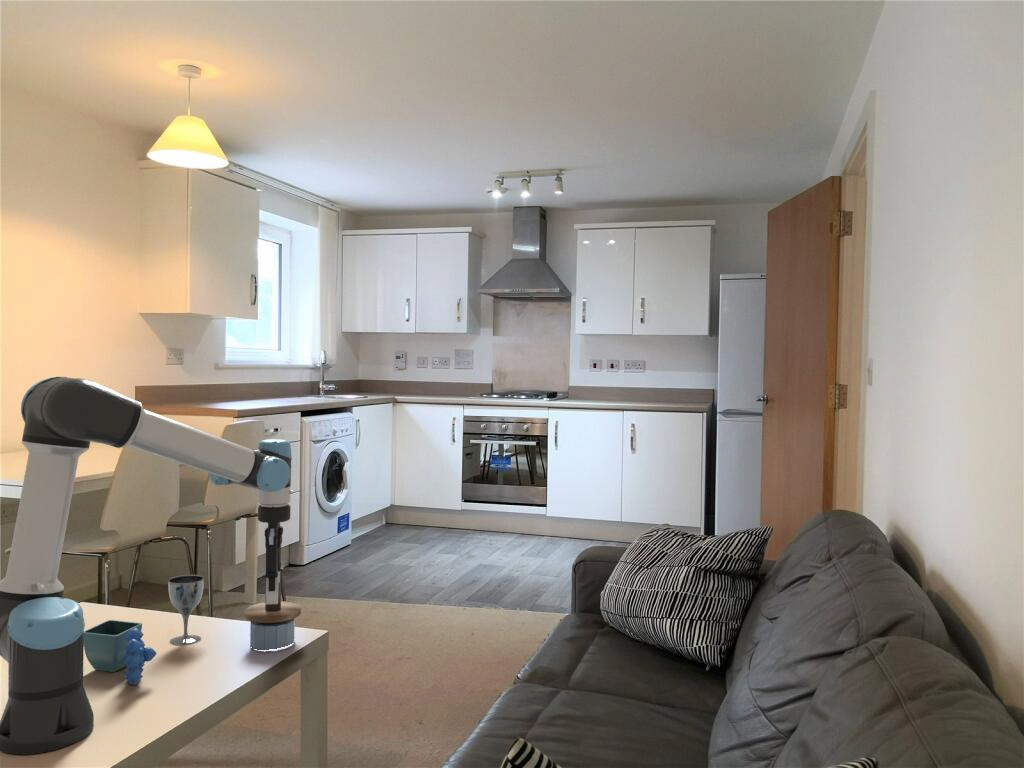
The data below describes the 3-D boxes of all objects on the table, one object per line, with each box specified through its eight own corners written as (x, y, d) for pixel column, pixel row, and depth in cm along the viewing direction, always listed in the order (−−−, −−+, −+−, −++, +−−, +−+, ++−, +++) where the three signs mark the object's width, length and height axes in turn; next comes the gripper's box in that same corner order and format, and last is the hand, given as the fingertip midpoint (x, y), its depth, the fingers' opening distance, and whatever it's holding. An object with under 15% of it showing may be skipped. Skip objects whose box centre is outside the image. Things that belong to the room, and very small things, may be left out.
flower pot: (116, 677, 169) (116, 635, 169) (80, 673, 171) (80, 632, 170) (143, 662, 177) (143, 622, 177) (108, 658, 179) (109, 619, 179)
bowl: (292, 650, 186) (292, 625, 186) (248, 652, 184) (248, 627, 184) (295, 636, 196) (296, 612, 196) (253, 638, 194) (253, 614, 194)
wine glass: (197, 632, 198) (198, 572, 197) (207, 641, 191) (208, 580, 191) (164, 638, 193) (164, 577, 192) (172, 648, 186) (173, 585, 186)
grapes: (155, 692, 162) (155, 633, 161) (118, 696, 159) (118, 637, 159) (157, 671, 172) (158, 616, 172) (123, 675, 170) (123, 619, 170)
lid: (297, 622, 185) (298, 591, 184) (239, 623, 183) (240, 592, 182) (303, 605, 197) (303, 576, 197) (249, 606, 195) (249, 577, 195)
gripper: (287, 510, 182) (286, 611, 182) (293, 498, 198) (291, 590, 199) (253, 510, 181) (252, 612, 181) (262, 498, 197) (260, 591, 197)
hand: (273, 600), depth 190 cm, fingers closed on lid, 4 cm apart
